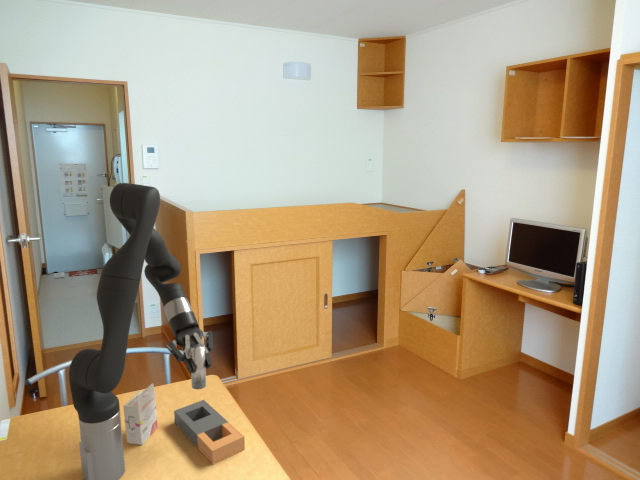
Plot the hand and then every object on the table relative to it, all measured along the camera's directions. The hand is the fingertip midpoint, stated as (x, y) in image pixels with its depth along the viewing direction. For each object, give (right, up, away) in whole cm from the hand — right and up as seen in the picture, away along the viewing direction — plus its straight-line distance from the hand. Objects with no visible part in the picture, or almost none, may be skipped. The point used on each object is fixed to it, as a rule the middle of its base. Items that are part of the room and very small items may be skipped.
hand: (201, 369), depth 133 cm
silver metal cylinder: (-1, -5, +3) cm, 6 cm away
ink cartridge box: (-18, -20, +2) cm, 27 cm away
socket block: (+1, -20, +3) cm, 20 cm away
